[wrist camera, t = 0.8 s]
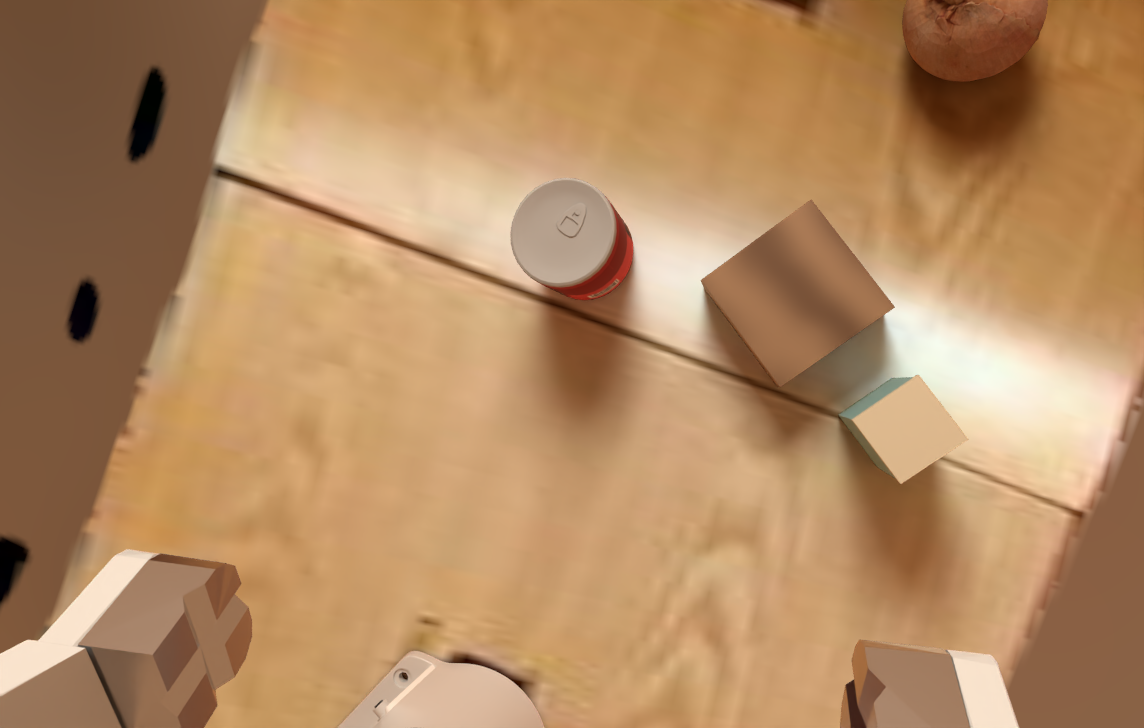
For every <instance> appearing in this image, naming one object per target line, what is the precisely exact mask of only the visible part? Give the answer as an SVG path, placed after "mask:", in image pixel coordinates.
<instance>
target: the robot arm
mask: <svg viewBox="0 0 1144 728" xmlns="http://www.w3.org/2000/svg"><path fill="white" fill-rule="evenodd" d="M240 585H241V581H240V578H239V575H238V573H237V570H236V567H235V566H234V565H230V564H226V563H220V562H214V561H207V560H200V559H194V558H187V557H180V556H174V555H167V554H158V553H151V552H143V551H136V550H129V549H127V550H125V551H123V552H121V553H119V554H117V555H115V556H114V557H113V558H112V559H111V560H110V561H109V562H108V563H107V565H106V566H105V567H104V568H103V569H102V570H101V571H100V572H99V574H98V575H97V576H96V577H95V578H94V579H93V580H92V581H91V582H90V584H89V585H88V586H87V587H86V588H85V589H84V590H83V591H82V592H81V594H80V595H79V596H78V597H77V598H76V599H75V600H74V601H73V603H72V604H71V605H70V606H69V607H68V608H67V609H66V610H65V611H64V613H63V614H62V615H61V616H60V617H59V618H58V619H57V620H56V621H55V623H54V624H53V625H52V626H51V627H50V628H49V629H48V630H47V632H46V633H45V634H44V635H43V636H42V637H41V638H40V639H39V640H38V641H35V640H26V641H24V642H22V643H20V644H19V645H17V646H15V647H13V648H11V649H9V650H7V651H5V652H3V653H1V654H0V728H204V727H205V725H206V723H207V722H208V720H209V719H210V717H211V715H212V714H213V712H214V710H215V709H216V707H217V698H216V691H215V690H216V689H217V688H219V687H220V686H222V685H223V684H225V683H226V682H228V681H230V680H231V679H233V678H234V677H235V676H236V674H237V673H238V671H239V669H240V667H241V666H242V664H243V662H244V660H245V659H246V656H247V652H248V649H249V645H250V642H251V638H252V619H251V615H250V611H249V608H248V606H247V605H245V604H244V603H243V602H242V601H241V600H240V599H239V598H238V597H237V596H236V595H235V593H236V591H237V590H238V588H239V587H240ZM852 667H853V674H854V680H852V681H851V682H849V683H848V684H846V685H845V690H844V695H843V700H842V707H841V720H840V728H1019V726H1018V723H1017V720H1016V717H1015V714H1014V711H1013V708H1012V705H1011V702H1010V699H1009V696H1008V693H1007V690H1006V687H1005V684H1004V681H1003V678H1002V675H1001V672H1000V669H999V666H998V663H997V661H996V660H995V659H994V658H993V657H992V655H988V654H980V653H971V652H963V651H954V650H943V649H941V648H932V647H923V646H914V645H905V644H896V643H887V642H878V641H868V640H859V641H858V643H857V644H856V646H855V649H854V653H853V657H852ZM402 672H404V673H406V674H407V675H408V680H406V679H404V678H403V676H402ZM337 728H544V725H543V722H542V720H541V717H540V715H539V713H538V711H537V710H536V708H535V706H534V705H533V703H532V702H531V700H530V699H529V698H528V697H527V695H526V694H525V693H524V692H523V691H522V690H521V689H520V688H519V687H518V686H517V685H516V684H515V683H513V682H512V681H511V680H509V679H508V678H507V677H505V676H503V675H502V674H500V673H498V672H496V671H494V670H491V669H489V668H486V667H483V666H479V665H474V664H464V663H447V662H442V661H440V660H438V659H436V658H434V657H432V656H430V655H428V654H425V653H422V652H419V651H411V652H409V653H407V654H406V655H405V656H404V657H403V658H402V659H401V660H400V661H399V662H398V663H397V664H396V665H395V666H394V667H393V669H392V670H391V671H390V672H389V673H388V674H387V675H386V676H385V677H384V678H383V679H382V680H381V681H380V682H379V683H378V684H377V686H376V687H375V688H374V689H373V690H372V691H371V692H370V693H369V694H368V695H367V696H366V697H365V698H364V699H363V700H362V701H361V703H360V704H359V705H358V706H357V707H356V708H355V709H354V710H353V711H352V712H351V713H350V714H349V715H348V716H347V717H346V719H345V720H344V721H343V722H342V723H341V724H340V725H339V726H338V727H337Z"/></svg>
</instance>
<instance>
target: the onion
mask: <svg viewBox="0 0 1144 728" xmlns="http://www.w3.org/2000/svg"><path fill="white" fill-rule="evenodd" d="M1047 6H1048V4H1047V0H907V2H906V5H905V8H904V12H903V21H902V25H903V35H904V40H905V43H906V47H907V49H908V51H909V53H910V55H911V57H912V58H913V59H914V61H915V62H916V63H917V64H918V65H919V66H920V67H921V68H923V69H924V70H925V71H927V72H928V73H930V74H932V75H934V76H936V77H939V78H941V79H945V80H949V81H961V82H965V81H973V80H978V79H983V78H986V77H991V76H994V75H996V74H998V73H1000V72H1002V71H1004V70H1005V69H1007V68H1008V67H1010V66H1011V65H1013V64H1015V63H1017V62H1018V61H1019V60H1020V59H1021V58H1022V57H1023V56H1024V55H1025V54H1026V53H1027V52H1028V51H1029V50H1030V48H1031V47H1032V46H1033V44H1034V43H1035V41H1036V40H1037V39H1038V37H1039V33H1040V31H1041V29H1042V26H1043V24H1044V21H1045V18H1046V13H1047Z"/></svg>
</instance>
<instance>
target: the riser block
mask: <svg viewBox="0 0 1144 728" xmlns="http://www.w3.org/2000/svg"><path fill="white" fill-rule="evenodd" d="M701 282H702V284H703V287H704V289H705V290H706V291H707V293H708V294H709V295H710V297H711V298H712V299H713V301H714V302H715V303H716V305H717V306H718V307H719V309H720V310H721V312H722V313H723V314H724V316H725V317H726V318H727V320H728V321H729V322H730V324H731V325H732V326H733V328H734V329H735V330H736V332H737V333H738V334H739V336H740V337H741V338H742V340H743V341H744V343H745V344H746V345H747V347H748V348H749V349H750V351H751V352H752V353H753V355H754V356H755V357H756V359H757V360H758V361H759V363H760V364H761V365H762V367H763V368H764V369H765V371H766V372H767V374H768V375H769V376H770V378H771V379H772V380H773V382H774V383H775V384H776V386H777V387H781V386H783V385H784V384H786V383H787V382H789V381H790V380H791V379H793V378H794V377H796V376H797V375H799V374H800V373H801V372H803V371H804V370H806V369H807V368H809V367H810V366H812V365H813V364H814V363H816V362H817V361H819V360H820V359H822V358H823V357H824V356H826V355H827V354H829V353H830V352H832V351H833V350H834V349H836V348H837V347H839V346H840V345H842V344H843V343H844V342H846V341H847V340H849V339H850V338H852V337H853V336H855V335H856V334H857V333H859V332H860V331H862V330H863V329H865V328H866V327H867V326H869V325H870V324H872V323H873V322H875V321H876V320H877V319H879V318H880V317H882V316H883V315H885V314H886V313H887V312H889V311H890V310H892V309H893V308H895V307H894V305H893V304H892V303H891V302H890V300H889V299H888V298H887V296H886V295H885V294H884V293H883V291H882V290H881V289H880V287H879V286H878V285H877V284H876V282H875V281H874V280H873V278H872V277H871V276H870V275H869V273H868V272H867V271H866V269H865V268H864V267H863V265H862V264H861V263H860V262H859V260H858V259H857V258H856V256H855V255H854V254H853V253H852V251H851V250H850V249H849V247H848V246H847V245H846V244H845V242H844V241H843V240H842V238H841V237H840V236H839V235H838V233H837V232H836V231H835V229H834V228H833V227H832V226H831V224H830V223H829V222H828V220H827V219H826V218H825V217H824V215H823V214H822V213H821V211H820V210H819V209H818V208H817V206H816V205H815V204H814V202H813V201H812V200H810V201H808V202H807V203H806V204H804V205H803V206H801V207H800V208H799V209H797V210H796V211H795V212H793V213H792V214H791V215H789V216H788V217H786V218H785V219H784V220H782V221H781V222H780V223H778V224H777V225H776V226H774V227H773V228H771V229H770V230H769V231H767V232H766V233H765V234H763V235H762V236H761V237H759V238H758V239H756V240H755V241H754V242H752V243H751V244H750V245H748V246H747V247H746V248H744V249H743V250H741V251H740V252H739V253H737V254H736V255H735V256H733V257H732V258H731V259H729V260H728V261H726V262H725V263H724V264H722V265H721V266H720V267H718V268H717V269H716V270H714V271H713V272H711V273H710V274H709V275H707V276H706V277H705V278H703V279H702V280H701Z"/></svg>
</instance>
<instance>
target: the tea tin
mask: <svg viewBox="0 0 1144 728" xmlns="http://www.w3.org/2000/svg"><path fill="white" fill-rule="evenodd" d="M839 417H840V418H841V419H842V421H843V422H844V423H845V425H846V426H847V427H848V429H849V430H850V431H851V433H852V434H853V435H854V437H855V438H856V439H857V441H858V442H859V443H860V445H861V446H862V447H863V449H864V450H865V451H866V453H867V454H868V455H869V457H870V458H871V459H872V461H873V462H874V463H875V465H876V466H877V467H878V468H879V469H881V470H883V471H884V472H886V473H887V474H889V475H891V476H892V477H894V478H895V479H896V480H897V481H898V483H900V484H902V483H903V482H905V481H906V480H908V479H909V478H911V477H912V476H914V475H915V474H917V473H918V472H920V471H921V470H923V469H924V468H926V467H927V466H929V465H930V464H932V463H934V462H935V461H937V460H938V459H940V458H941V457H943V456H944V455H946V454H947V453H949V452H950V451H952V450H953V449H955V448H956V447H958V446H959V445H961V444H962V443H964V442H965V441H967V440H968V438H967V437H966V436H965V434H964V433H963V432H962V430H961V429H960V428H959V426H958V425H957V424H956V423H955V421H954V420H953V419H952V417H951V416H950V415H949V413H948V412H947V411H946V410H945V408H944V407H943V406H942V404H941V403H940V402H939V401H938V399H937V398H936V397H935V395H934V394H933V393H932V391H931V390H930V389H929V388H928V386H927V385H926V384H925V382H924V381H923V380H922V378H921V377H920V376H919V375H916V376H914V377H909V378H891V379H890V380H888V381H887V382H886V383H884V384H883V385H881V386H880V387H878V388H877V389H875V390H874V391H872V392H871V393H869V394H868V395H867V396H865V397H864V398H862V399H861V400H859V401H858V402H856V403H855V404H853V405H852V406H850V407H849V408H848V409H846V410H845V411H843V412H842V413H840V414H839Z"/></svg>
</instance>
